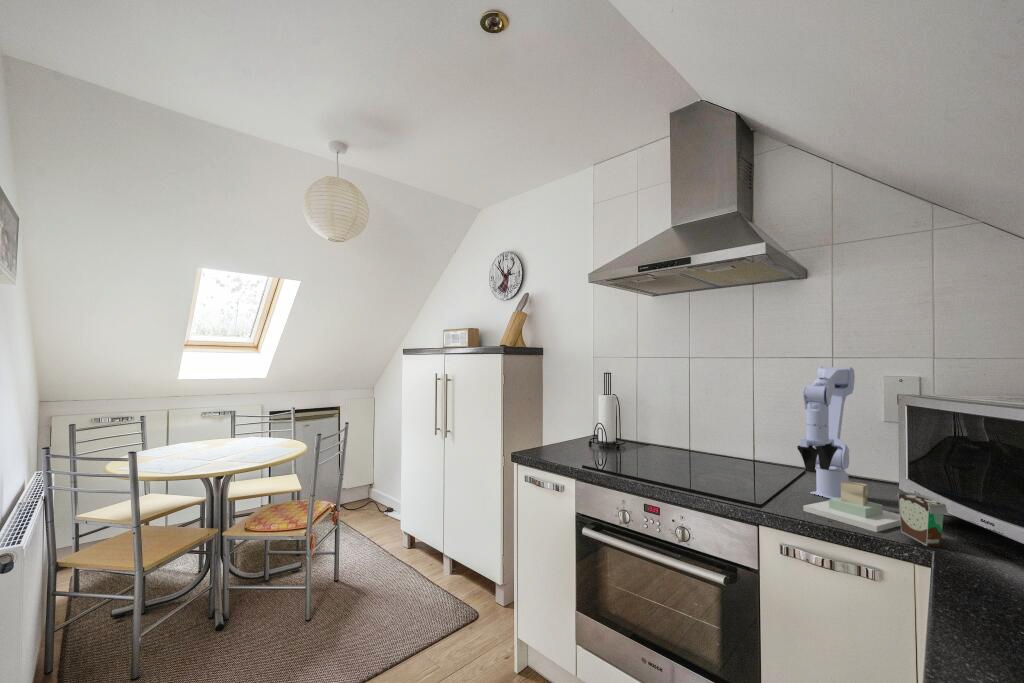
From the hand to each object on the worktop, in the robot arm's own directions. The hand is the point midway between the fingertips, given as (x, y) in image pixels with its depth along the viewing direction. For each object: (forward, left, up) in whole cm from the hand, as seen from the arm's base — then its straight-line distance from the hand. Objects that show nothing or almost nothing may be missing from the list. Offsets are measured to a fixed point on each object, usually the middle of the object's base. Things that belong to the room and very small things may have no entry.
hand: (817, 470), depth 137 cm
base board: (+2, +11, -10) cm, 15 cm away
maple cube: (+2, +11, -6) cm, 13 cm away
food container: (+5, +28, -11) cm, 30 cm away
